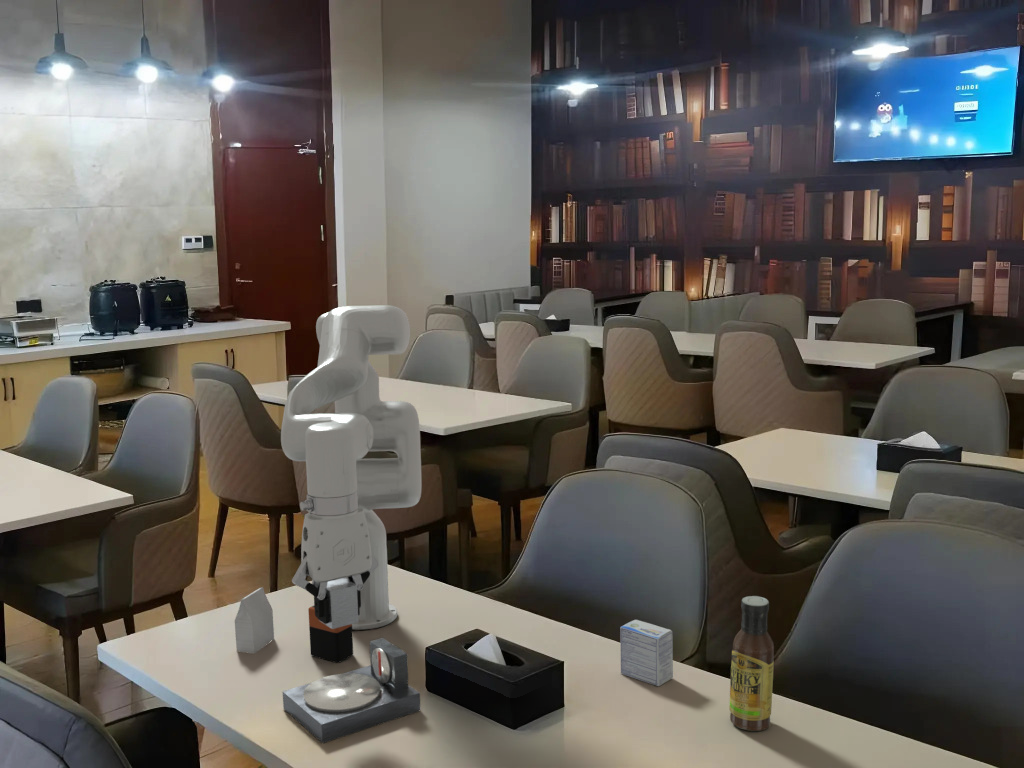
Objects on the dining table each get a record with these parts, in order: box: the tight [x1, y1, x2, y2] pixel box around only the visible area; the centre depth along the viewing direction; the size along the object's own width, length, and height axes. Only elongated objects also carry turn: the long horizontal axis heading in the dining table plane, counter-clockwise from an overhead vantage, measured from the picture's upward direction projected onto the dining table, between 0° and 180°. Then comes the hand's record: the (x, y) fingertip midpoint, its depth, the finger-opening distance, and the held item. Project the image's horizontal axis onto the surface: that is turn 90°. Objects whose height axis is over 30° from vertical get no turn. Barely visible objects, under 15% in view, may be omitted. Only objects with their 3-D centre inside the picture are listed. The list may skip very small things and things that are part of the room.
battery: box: [308, 605, 354, 663], centre depth 189 cm, size 4×7×10 cm, turn 58°
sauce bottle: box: [729, 595, 775, 732], centre depth 160 cm, size 6×6×20 cm
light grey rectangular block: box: [319, 578, 358, 629], centre depth 165 cm, size 4×4×6 cm
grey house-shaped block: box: [234, 587, 275, 654], centre depth 194 cm, size 4×7×10 cm, turn 161°
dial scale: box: [282, 637, 421, 744], centre depth 168 cm, size 14×17×9 cm
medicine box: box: [619, 619, 674, 687], centre depth 178 cm, size 8×4×9 cm, turn 47°
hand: (338, 615), depth 165 cm, fingers closed on light grey rectangular block, 4 cm apart
